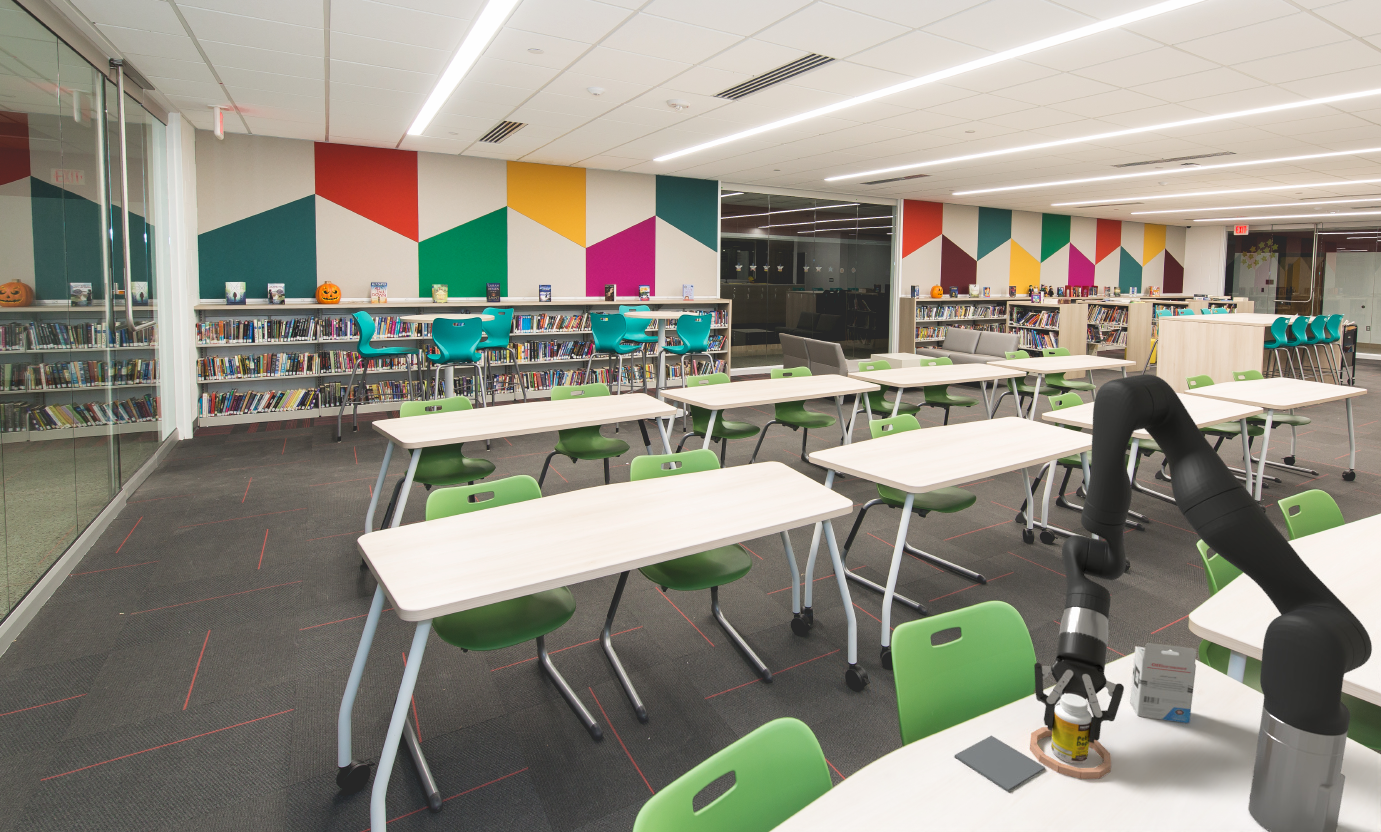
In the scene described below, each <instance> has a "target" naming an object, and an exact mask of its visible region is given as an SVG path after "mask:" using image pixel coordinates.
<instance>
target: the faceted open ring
mask: <svg viewBox="0 0 1381 832" xmlns="http://www.w3.org/2000/svg"><path fill="white" fill-rule="evenodd" d="M1052 732H1053V730H1052V731H1051V730H1048V728H1047V726H1043V727H1039V728H1038V729H1036V730H1033V732H1031V734H1030V741H1029V742H1030V743H1029V750H1030V752H1031V753H1032V755H1033V756H1034V757H1035V758H1036V759H1037V762H1038V763H1040V764H1041V765H1042V764H1043V766H1046V767H1048V769H1051V770H1052V771H1054V772H1056V773H1058V774H1062V775H1064V776H1068V777H1072V778H1076V779H1078V780H1089V779H1090V780H1094V779H1098V780H1099V779H1102V778H1103V777H1104V776H1106V775H1107V774H1109V773H1111V771H1112V769H1111V768H1112V757H1111V753H1110V752H1109V750H1108V749H1106V747H1105V746H1104V745H1102V744H1101V742H1099V740H1098V741H1097V740H1094V743H1091V742H1089V749H1093V751H1095V752H1096V754H1097V755H1098V756H1099V757H1100V758H1101V759H1102V763H1101V764H1099V765H1097V766H1096V767H1076V766H1072V765H1069V764H1065V763H1061V762H1059V761H1058V760H1056V759H1054V758H1052V757H1051V756H1049V755H1047V754H1046V753H1045V752H1044V751H1043V750H1042V749H1041V748H1040V746H1039V745H1038V742H1039V741H1040V740H1043V739H1044V738H1047V737H1049V738H1052Z"/></svg>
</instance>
